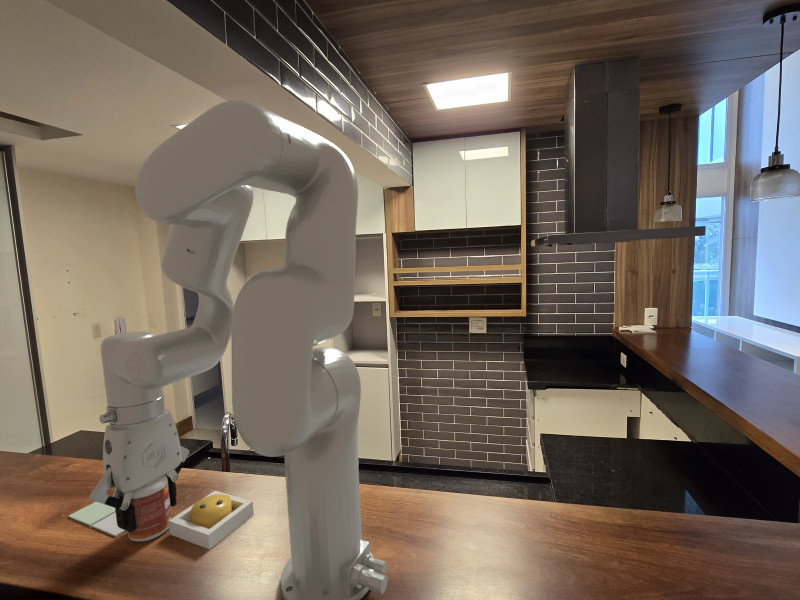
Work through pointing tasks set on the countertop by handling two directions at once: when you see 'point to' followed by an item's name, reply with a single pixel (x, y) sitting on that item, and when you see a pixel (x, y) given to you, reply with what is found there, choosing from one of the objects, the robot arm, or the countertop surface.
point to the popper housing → (210, 537)
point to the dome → (211, 510)
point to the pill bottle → (151, 510)
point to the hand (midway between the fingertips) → (149, 515)
